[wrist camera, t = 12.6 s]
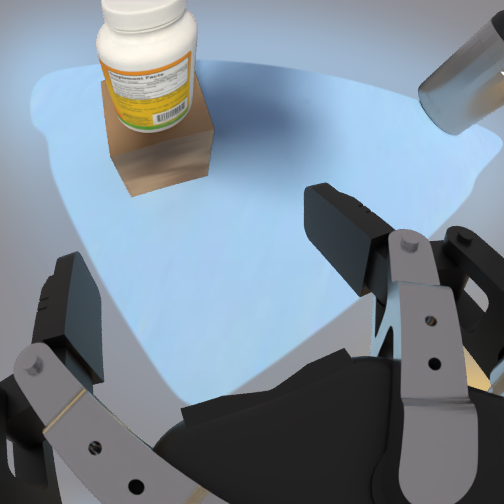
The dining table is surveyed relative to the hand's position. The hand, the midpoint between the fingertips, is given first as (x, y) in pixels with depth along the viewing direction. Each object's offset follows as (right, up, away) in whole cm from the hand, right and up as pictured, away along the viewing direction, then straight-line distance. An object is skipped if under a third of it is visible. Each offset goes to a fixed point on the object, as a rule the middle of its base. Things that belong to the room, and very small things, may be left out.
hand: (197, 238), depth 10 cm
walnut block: (-7, +9, +16) cm, 19 cm away
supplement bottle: (-5, +10, +9) cm, 14 cm away
